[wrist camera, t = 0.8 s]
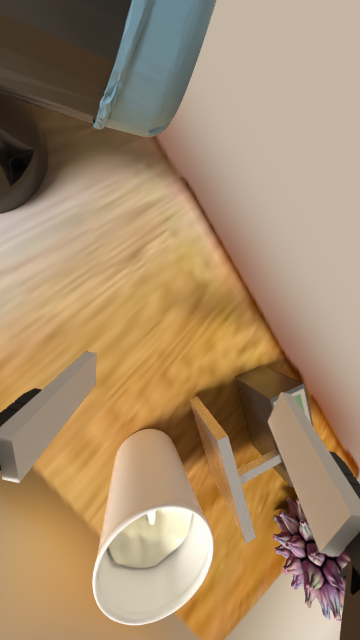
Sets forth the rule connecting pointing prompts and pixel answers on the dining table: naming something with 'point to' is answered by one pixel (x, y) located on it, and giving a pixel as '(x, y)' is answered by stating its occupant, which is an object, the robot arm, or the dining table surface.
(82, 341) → the dining table surface
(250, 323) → the dining table surface
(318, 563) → the flower
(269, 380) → the box
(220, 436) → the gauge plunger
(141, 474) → the white cream cup
